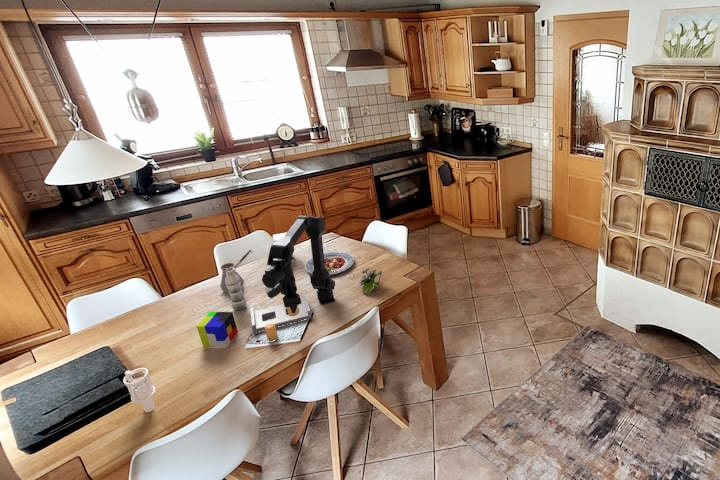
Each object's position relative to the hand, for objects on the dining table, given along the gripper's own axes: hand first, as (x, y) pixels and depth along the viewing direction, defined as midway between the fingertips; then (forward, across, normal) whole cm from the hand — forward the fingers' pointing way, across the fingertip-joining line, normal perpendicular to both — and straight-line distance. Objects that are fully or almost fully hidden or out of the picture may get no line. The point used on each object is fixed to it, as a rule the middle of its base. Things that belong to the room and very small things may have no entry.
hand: (293, 310), depth 155 cm
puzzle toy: (+11, -9, -30) cm, 33 cm away
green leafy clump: (+11, -19, +38) cm, 44 cm away
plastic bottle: (+11, -30, -22) cm, 39 cm away
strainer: (+11, +20, -52) cm, 57 cm away
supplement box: (+11, -70, +4) cm, 71 cm away
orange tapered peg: (+2, 0, 0) cm, 2 cm away
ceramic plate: (+11, -51, +25) cm, 58 cm away
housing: (+11, -14, -5) cm, 18 cm away
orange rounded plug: (+11, 0, -10) cm, 15 cm away
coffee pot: (+11, -54, -21) cm, 59 cm away
